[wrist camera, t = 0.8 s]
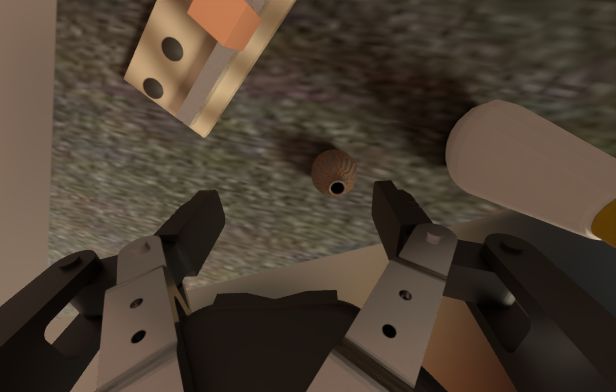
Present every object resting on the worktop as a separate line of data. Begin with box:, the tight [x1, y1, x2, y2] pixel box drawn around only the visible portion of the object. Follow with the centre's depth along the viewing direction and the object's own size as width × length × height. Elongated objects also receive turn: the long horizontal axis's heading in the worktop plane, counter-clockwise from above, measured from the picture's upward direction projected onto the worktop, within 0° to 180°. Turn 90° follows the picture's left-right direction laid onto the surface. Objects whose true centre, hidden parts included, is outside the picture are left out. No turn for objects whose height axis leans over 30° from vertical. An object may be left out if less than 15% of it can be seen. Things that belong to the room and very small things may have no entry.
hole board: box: [124, 0, 296, 138], centre depth 28 cm, size 25×12×1 cm, turn 139°
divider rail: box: [176, 0, 271, 127], centre depth 26 cm, size 23×8×3 cm, turn 139°
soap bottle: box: [446, 100, 616, 248], centre depth 23 cm, size 13×10×29 cm
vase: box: [311, 149, 357, 197], centre depth 34 cm, size 7×7×9 cm
